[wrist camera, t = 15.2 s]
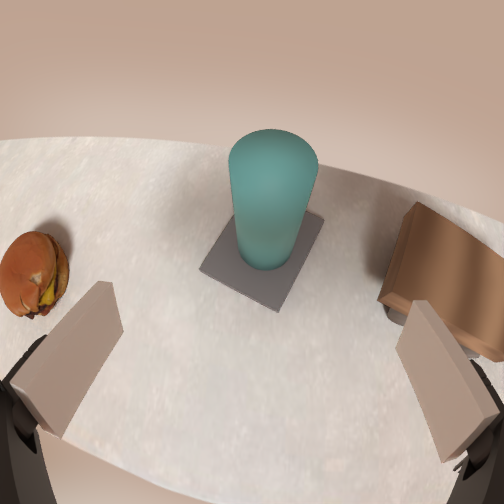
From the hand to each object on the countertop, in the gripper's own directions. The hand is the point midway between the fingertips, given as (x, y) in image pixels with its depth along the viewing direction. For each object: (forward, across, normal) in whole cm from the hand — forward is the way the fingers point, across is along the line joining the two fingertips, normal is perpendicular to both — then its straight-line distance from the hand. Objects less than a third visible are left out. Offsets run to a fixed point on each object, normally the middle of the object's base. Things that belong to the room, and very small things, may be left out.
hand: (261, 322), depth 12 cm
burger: (+12, -25, -7) cm, 29 cm away
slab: (+12, +19, -6) cm, 23 cm away
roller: (+15, 0, -3) cm, 15 cm away
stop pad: (+16, 0, -3) cm, 16 cm away
